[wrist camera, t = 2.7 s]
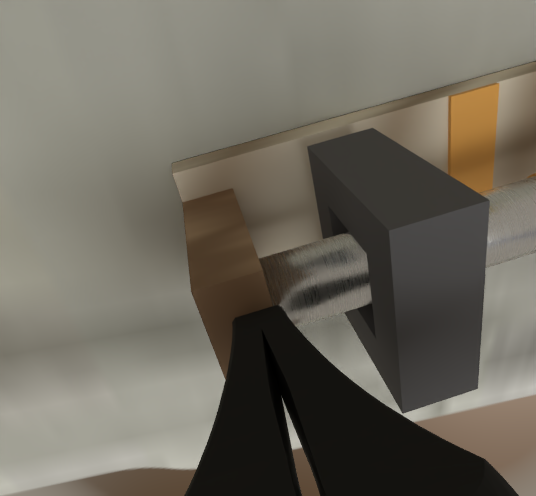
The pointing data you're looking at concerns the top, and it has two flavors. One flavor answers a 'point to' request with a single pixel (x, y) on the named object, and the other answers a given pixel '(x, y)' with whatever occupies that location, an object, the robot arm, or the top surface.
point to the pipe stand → (306, 212)
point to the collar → (409, 261)
